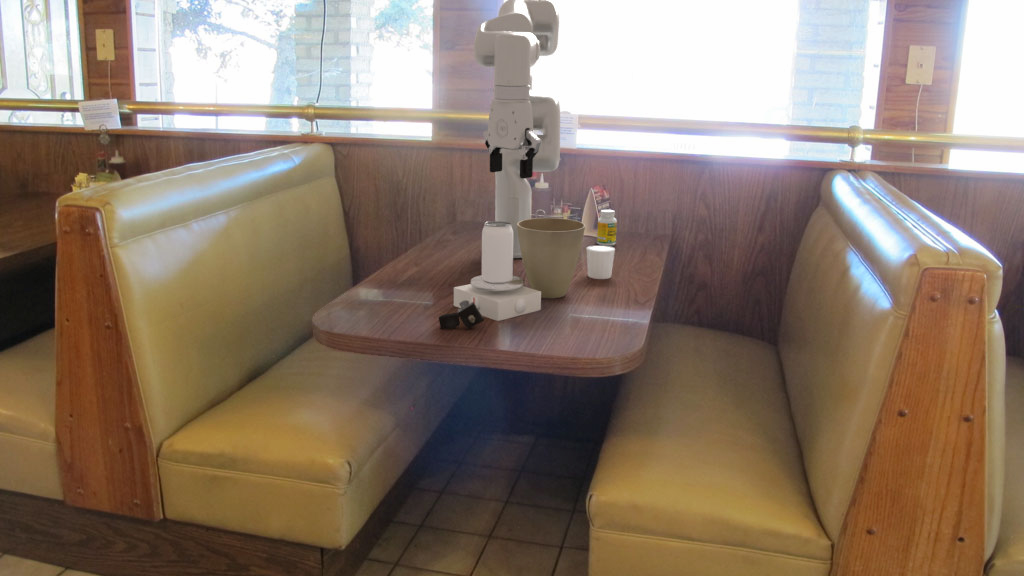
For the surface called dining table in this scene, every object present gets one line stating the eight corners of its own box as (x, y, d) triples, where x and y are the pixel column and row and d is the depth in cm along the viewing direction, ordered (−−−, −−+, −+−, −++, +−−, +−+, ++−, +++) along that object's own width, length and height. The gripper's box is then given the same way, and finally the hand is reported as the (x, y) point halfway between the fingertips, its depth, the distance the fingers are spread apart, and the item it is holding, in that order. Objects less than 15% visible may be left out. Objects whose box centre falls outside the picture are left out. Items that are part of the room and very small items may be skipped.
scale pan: (460, 288, 176) (460, 279, 176) (499, 279, 184) (499, 271, 183) (495, 299, 169) (495, 290, 168) (534, 289, 176) (534, 281, 175)
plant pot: (503, 290, 191) (504, 220, 186) (558, 282, 198) (560, 215, 194) (538, 307, 178) (540, 233, 174) (595, 298, 185) (598, 227, 181)
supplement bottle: (605, 241, 243) (606, 208, 241) (619, 244, 240) (621, 210, 237) (593, 243, 240) (594, 210, 237) (607, 246, 236) (609, 213, 233)
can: (480, 276, 179) (481, 220, 175) (511, 276, 179) (512, 220, 176) (482, 284, 172) (482, 226, 169) (513, 284, 173) (514, 226, 170)
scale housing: (452, 306, 178) (452, 287, 177) (496, 295, 186) (496, 278, 185) (497, 321, 168) (497, 302, 167) (541, 310, 176) (542, 291, 175)
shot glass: (612, 280, 200) (613, 251, 199) (583, 278, 202) (584, 250, 200) (614, 273, 207) (616, 245, 205) (587, 271, 208) (588, 244, 206)
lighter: (448, 341, 163) (434, 320, 162) (449, 338, 165) (435, 316, 164) (483, 321, 162) (469, 299, 160) (484, 318, 164) (469, 296, 162)
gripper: (471, 92, 182) (472, 171, 187) (527, 97, 170) (525, 182, 175) (498, 90, 187) (497, 167, 192) (553, 96, 174) (551, 178, 179)
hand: (510, 174), depth 183 cm, fingers open, 9 cm apart
